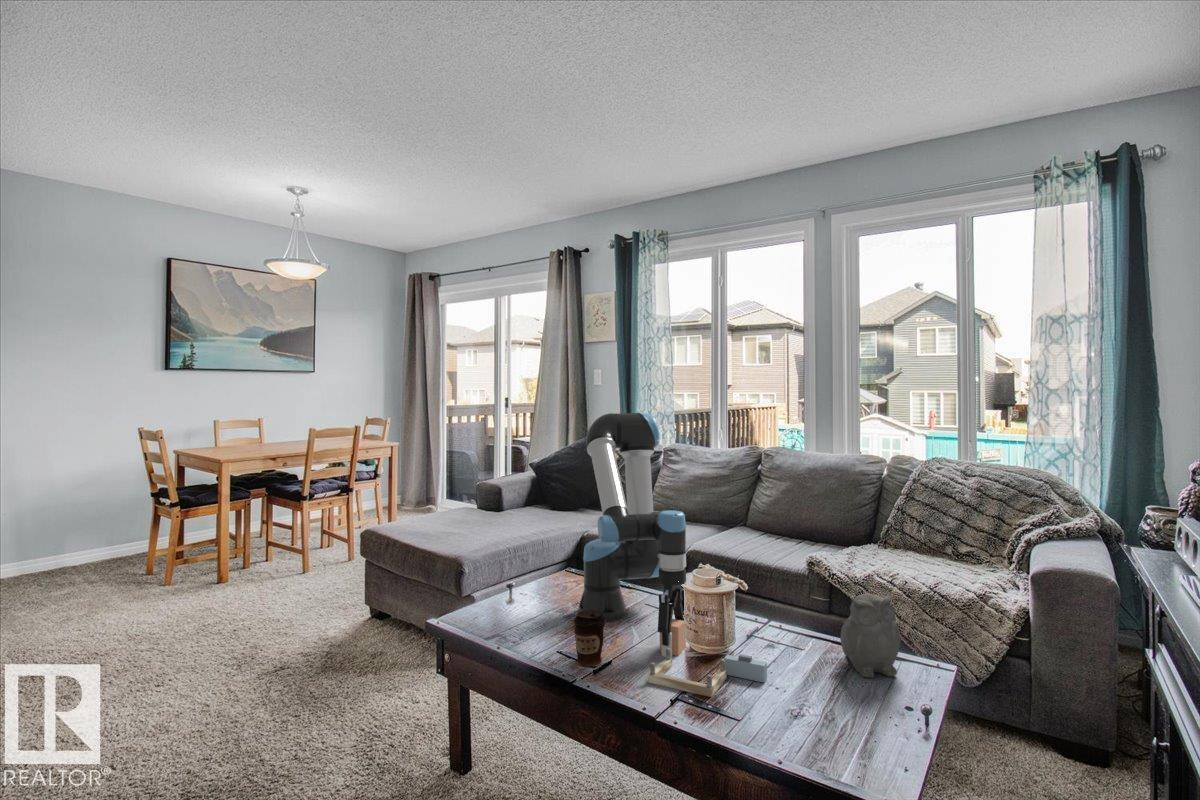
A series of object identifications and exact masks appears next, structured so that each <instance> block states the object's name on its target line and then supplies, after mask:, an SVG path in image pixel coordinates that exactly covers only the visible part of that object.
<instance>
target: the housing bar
mask: <svg viewBox="0 0 1200 800" xmlns="http://www.w3.org/2000/svg"><path fill="white" fill-rule="evenodd" d="M723 659H724V660H725V670H727V676H732V677H735V678H741V679H745V680H750V681H756V682H759V683H760V682H761V683H766V681H767V679H768V664H767V663H768V662H766V661H763V660H758V659H757V660H756V659H753V656H751V655H747V654H739V655H738V656H736V655H732V654H726V656H725V657H724V658H723Z"/></svg>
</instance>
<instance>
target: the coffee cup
mask: <svg viewBox="0 0 1200 800" xmlns="http://www.w3.org/2000/svg"><path fill="white" fill-rule="evenodd" d="M605 620H606V618H605V617H604V616H603V612H601V611H597V610H586V611H582V612H579V611H577V613H576V616H575V617H574V619H573V625H574V638H575V650H576V655H577V663H578V665H579V666H583V667H597V666H601V665H602V663H603V661H602V651H603V646H604V635H605V634H604V633H605V632H604V631H605V625H606V621H605Z"/></svg>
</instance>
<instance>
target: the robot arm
mask: <svg viewBox="0 0 1200 800" xmlns="http://www.w3.org/2000/svg"><path fill="white" fill-rule="evenodd" d="M659 443H660V431H659V425H658V422H657V421H656V419H655V417H654V416H653V415H652V414H650V413H646V412H645V413H644V412H630V413H629V412H625V413H622V412H621V413H613V412H610V413H605V414H603V415H601V416H599V417H598V418H596V419H595V420H594V421H593V423H592V424H591V425H590V426H589V428H588V431H587V433H586V437H585V447H586V451H587V454H588V455H589V456H590V458H591V462H592V467H593V471H594V477H595V482H596V487H597V491H598V497H599V502H600V506H601V511H602V515H600V516H598V519H597V534H598V538H596V539H593V540H591V541H589V542H587V543H586V544H585V546H584V549H583V558H582V561H583V586H584V587H583V592H582V595H581V598H580V601H579V605H578V612H582V611H586V610H597V611H601V612H603V616H604V617H605V618H606V620H605V622H611V621H617V620H619V619H622V618H624V617H625V616H626V615H627V614H626V613H627V606H626V603H625V600H624V596H623V594H622V590H621V581H623V580H638V579H651V578H652V579H653V578H658V581H659V583H660V584H662V585H663V592H662V594H661V593H659V595H658V604H659V605H658V620H657V633H659V634H660V633H662V652H661V657H665V658H666V649H667V648H669V649H671V658H672V659H673V655H672V633H671V632H670V631H671V623H672V619H673V615H674V619H676V620H682V621H684V618H683V615H684V589H683V587H682V586H681V585H682V584H686V582H687V569H686V567H687V553H686V552H687V551H686V549H687V548H686V547H687V546H686V539H687V538H686V534H687V533H686V528H687V523H686V515H685V513H684V512H683V511H680V510H679V511H678V510H671V509H669V510H662V511H661V510H660V511H658V510H655V511H654V499H653V498H654V497H653V483H652V469H651V468H652V467H651V465H652V464H651V456H653V454H654V453H655V448H656V447H658V446H659ZM617 449H619V455H620V456H621V457H622V458H624V471H625V473H624V474H625V489H626V490H625V491H626V496H625V492H624V488H623V487H624V486H623V483H622V479H621V475H620V470H619V467H618V462H617V458H616V453H615V451H616V450H617ZM678 581H679V582H678Z"/></svg>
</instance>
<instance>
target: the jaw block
mask: <svg viewBox="0 0 1200 800" xmlns="http://www.w3.org/2000/svg"><path fill="white" fill-rule="evenodd" d="M670 632H671V633H672V656H677V657H679V656H680V655H681V654H682V653H683V652H684V651H685V650H686V649H685V648H687V639H686V640H685V624H684V621H682V620H676V619H675V618H672V623H671V631H670ZM684 649H685V650H684ZM683 650H684V651H683ZM682 651H683V652H682ZM659 652H660V653H662V633H660V632H659Z"/></svg>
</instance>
